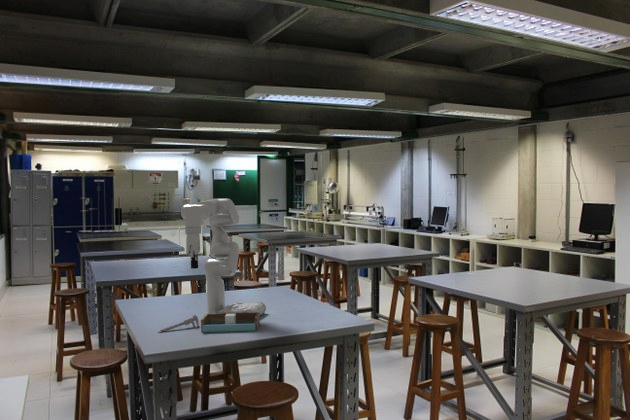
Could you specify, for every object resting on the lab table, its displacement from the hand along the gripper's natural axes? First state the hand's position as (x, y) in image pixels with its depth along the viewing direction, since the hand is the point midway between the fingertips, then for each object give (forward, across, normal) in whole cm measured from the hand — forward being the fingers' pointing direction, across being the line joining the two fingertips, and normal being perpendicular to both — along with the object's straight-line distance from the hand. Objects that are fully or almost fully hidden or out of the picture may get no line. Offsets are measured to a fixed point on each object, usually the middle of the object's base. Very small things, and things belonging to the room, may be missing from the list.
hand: (194, 268), depth 242 cm
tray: (+31, -4, +16) cm, 35 cm away
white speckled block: (+30, -4, +16) cm, 34 cm away
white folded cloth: (+32, -28, +19) cm, 46 cm away
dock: (+31, -5, +16) cm, 35 cm away
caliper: (+32, -6, -10) cm, 34 cm away
